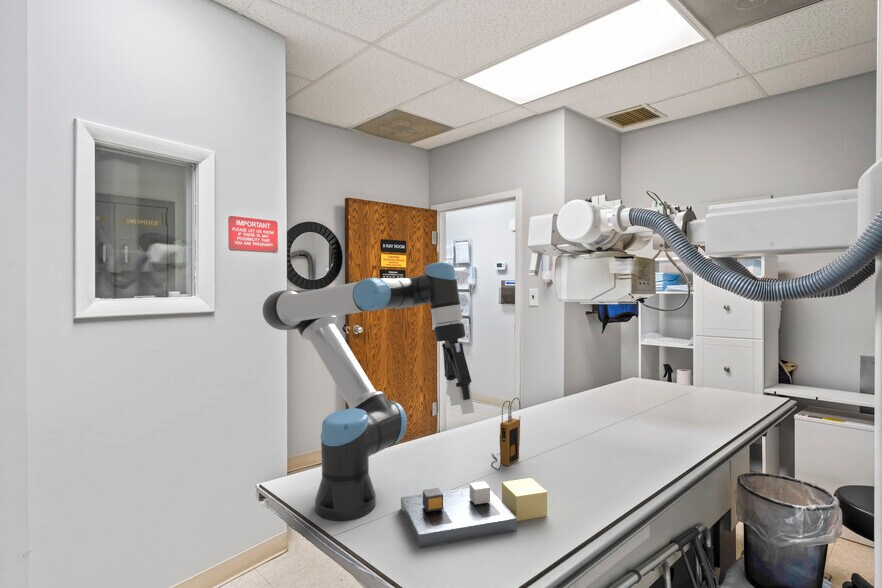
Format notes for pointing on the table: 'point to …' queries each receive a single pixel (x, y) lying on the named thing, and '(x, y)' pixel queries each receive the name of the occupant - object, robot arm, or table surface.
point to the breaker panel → (456, 518)
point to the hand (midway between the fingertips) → (461, 409)
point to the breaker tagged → (432, 499)
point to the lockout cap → (524, 498)
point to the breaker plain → (479, 492)
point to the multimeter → (509, 439)
